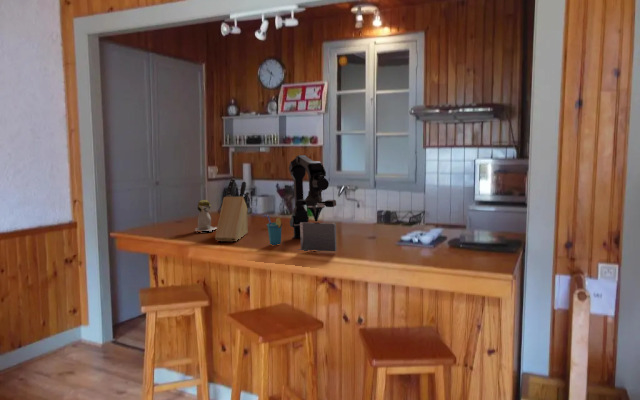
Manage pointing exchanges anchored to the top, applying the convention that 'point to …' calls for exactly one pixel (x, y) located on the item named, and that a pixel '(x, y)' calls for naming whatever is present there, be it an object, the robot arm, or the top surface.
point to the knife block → (233, 214)
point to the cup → (274, 231)
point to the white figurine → (204, 217)
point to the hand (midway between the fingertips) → (316, 221)
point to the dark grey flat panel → (318, 236)
